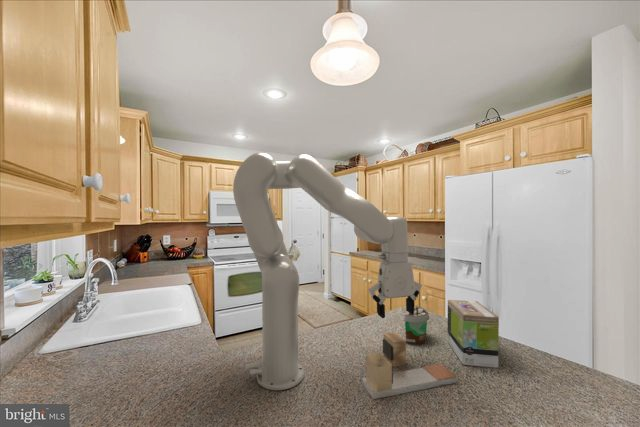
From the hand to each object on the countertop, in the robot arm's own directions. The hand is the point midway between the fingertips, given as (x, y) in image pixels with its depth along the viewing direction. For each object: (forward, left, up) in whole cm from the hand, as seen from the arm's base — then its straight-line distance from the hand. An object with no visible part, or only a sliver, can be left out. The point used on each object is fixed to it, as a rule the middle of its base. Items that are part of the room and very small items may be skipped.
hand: (395, 314), depth 82 cm
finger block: (-1, 0, -14) cm, 14 cm away
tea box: (+24, -3, -14) cm, 28 cm away
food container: (+14, +9, -14) cm, 22 cm away
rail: (-3, -11, -14) cm, 18 cm away
